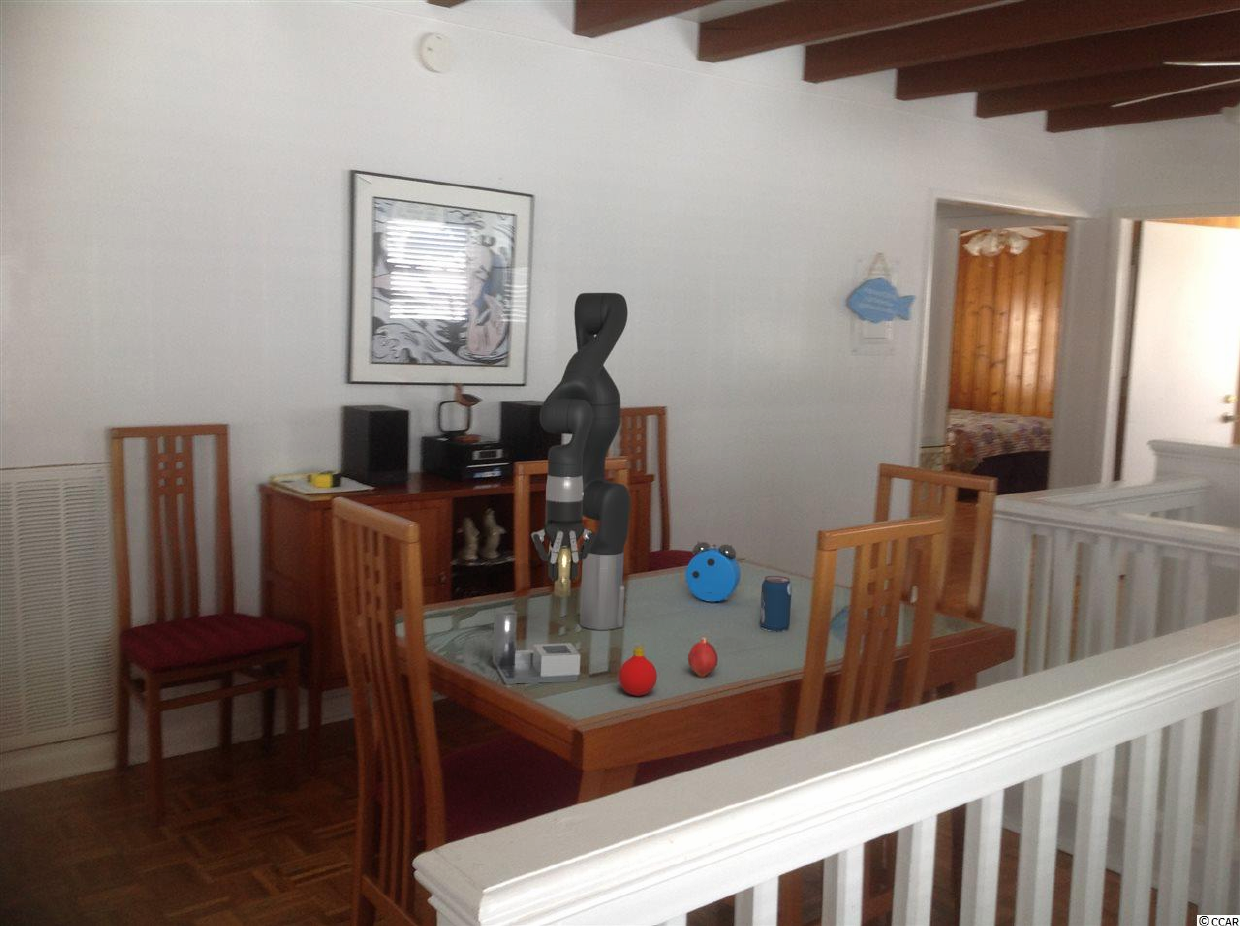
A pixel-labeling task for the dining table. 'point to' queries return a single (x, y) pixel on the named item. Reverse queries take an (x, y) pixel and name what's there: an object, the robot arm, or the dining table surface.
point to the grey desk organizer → (531, 656)
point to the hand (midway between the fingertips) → (562, 579)
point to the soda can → (775, 603)
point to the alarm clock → (713, 572)
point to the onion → (702, 658)
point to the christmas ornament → (637, 674)
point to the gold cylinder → (563, 572)
